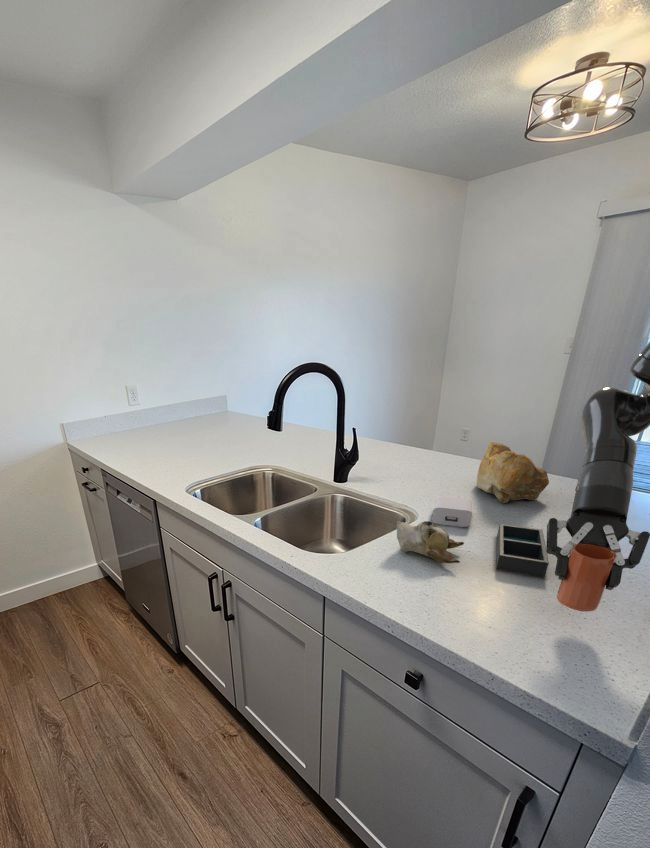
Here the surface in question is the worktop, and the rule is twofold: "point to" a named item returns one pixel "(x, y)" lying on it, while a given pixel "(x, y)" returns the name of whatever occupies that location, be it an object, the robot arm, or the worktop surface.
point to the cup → (586, 576)
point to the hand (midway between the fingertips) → (585, 583)
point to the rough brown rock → (510, 475)
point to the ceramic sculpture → (427, 541)
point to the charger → (452, 511)
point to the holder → (521, 550)
